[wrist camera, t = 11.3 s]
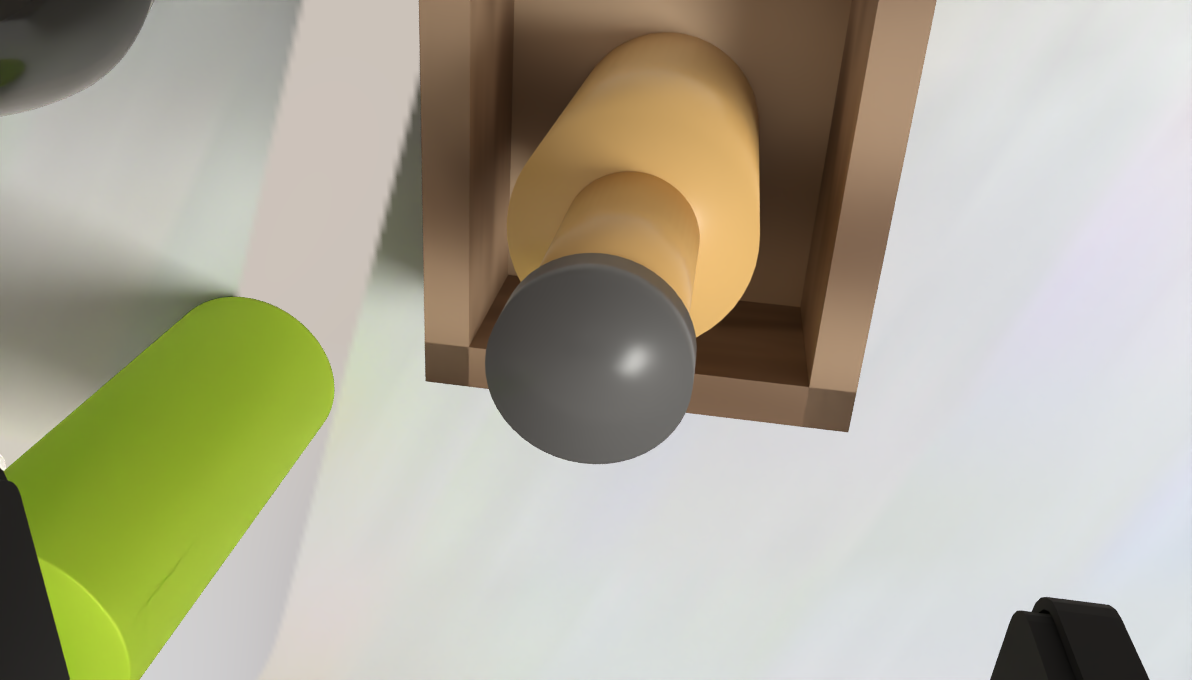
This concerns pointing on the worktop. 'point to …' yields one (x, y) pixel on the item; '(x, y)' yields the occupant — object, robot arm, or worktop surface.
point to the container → (2, 463)
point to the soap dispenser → (167, 476)
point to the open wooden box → (786, 176)
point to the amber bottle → (627, 249)
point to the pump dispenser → (61, 47)
